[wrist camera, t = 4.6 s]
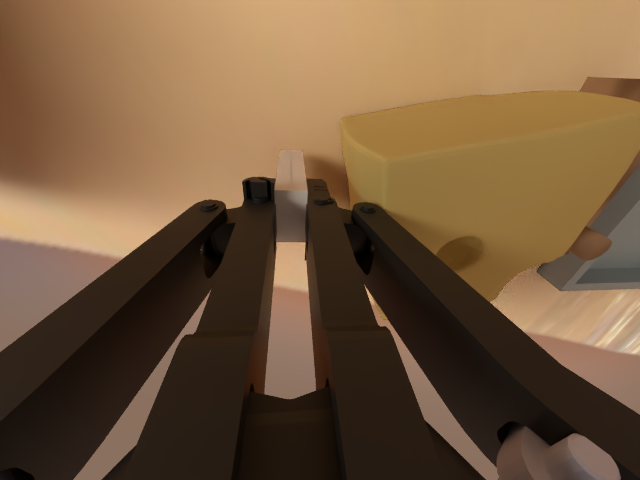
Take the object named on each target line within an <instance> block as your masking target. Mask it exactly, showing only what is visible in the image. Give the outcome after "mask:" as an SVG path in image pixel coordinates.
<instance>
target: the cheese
mask: <svg viewBox="0 0 640 480" xmlns="http://www.w3.org/2000/svg"><path fill="white" fill-rule="evenodd" d="M341 144H342V153H343V159H344V163H345V167H346V172H347V179H348V187H349V197H350V210H352V209H353V205H354V204H356V203H360V202H368V203H369V202H370V203H373V204H375V205H377V206H379V207H381V208H382V209H383V210H384V211H385V212H386V213H387V214H389V215H390V216H391V217H392V218H393V219H394V220H396V221H397V222H398V223H399V224H400V225H401V226H402V227H404V228H405V229H406V230H407V231H408V232H409V233H410V234H412V235H413V236H414V237H415V238H416V239H417V240H418V241H420V242H421V243H422V244H423V245H424V246H425V247H427V248H428V249H429V250H430V251H431V252H432V253H433V254H435V255H436V256H437V257H438V258H439V259H440V260H441V261H443V262H444V263H445V264H446V265H447V266H448V267H450V268H451V269H452V270H453V271H454V272H455V273H456V274H458V275H459V276H460V277H461V278H462V279H463V280H464V281H466V282H467V283H468V284H469V285H470V286H471V287H472V288H474V289H475V290H476V291H477V292H478V293H479V294H481V295H482V296H483V297H484V298H485V299H486V300H487V301H489V302H490V301H492V300H493V299H495V298H497V296H498V294H499V292H500V291H501V290H502V289H503V287H504V286H505V285H506V284H507V283H508V282H509V281H510V280H511V279H512V278H513V277H514V276H516V275H517V274H518V273H520V272H522V271H523V270H525V269H527V268H529V267H532V266H535V265H539V264H543V263H549V262H551V261H554V260H555V259H557V258H559V257H561V256H563V255H564V254H565V253H566V251H567V250H568V249H569V248H570V247H571V246H572V244H573V243H574V242H575V240H576V239H577V237H578V236H579V235H580V233H581V232H582V230H583V229H584V227H585V226H586V225H587V223H588V222H589V220H590V219H591V218H592V217H593V215H594V214H595V213H596V212H597V210H598V209H599V208H600V207H601V205H602V204H603V203H604V201H605V200H606V199H607V197H608V196H609V195H610V193H611V192H612V191H613V190H614V188H615V187H616V185H617V184H618V182H619V181H620V180H621V178H622V177H623V175H624V174H625V173H626V171H627V170H628V168H629V166H630V165H631V163H632V162H633V160H634V158H635V157H636V155H637V153H638V152H639V150H640V102H637V101H633V100H629V99H625V98H619V97H613V96H608V95H602V94H595V93H587V92H577V91H534V92H524V93H513V94H503V95H475V96H469V97H462V98H454V99H447V100H440V101H433V102H427V103H421V104H415V105H410V106H405V107H399V108H394V109H389V110H384V111H379V112H373V113H367V114H361V115H354V116H348V117H343V118H342V121H341ZM372 297H373V296H372ZM373 300H374V302H375V305H376V307H377V309H378V311H379V314H380V315H381V318H382V319H383V320H388V319H387V317H386V316H385V314H384V313H383V311H382V310H381V308H380V307H379V305H378V304H377V302H376V301H375V299H374V298H373Z"/></svg>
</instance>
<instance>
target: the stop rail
mask: <svg viewBox="0 0 640 480" xmlns="http://www.w3.org/2000/svg"><path fill="white" fill-rule="evenodd" d="M580 92H587V93H595V94H602V95H608V96H613V97H619V98H625V99H629V100H633V101H637V102H640V79H624V78H593V77H588V78H587V80H586V82H585V84H584V86H583V87H582V89H581V91H580ZM639 164H640V150H639V152H638V153H637V155H636V157H635V158H634V160H633V162H632V163H631V165H630V166H629V168H628V170H627V171H626V173H625V174H624V175H623V177H622V178H621V180H620V181H619V182H618V184H617V185H616V187H615V188H614V190H613V191H612V192H611V193H610V195H609V196H608V197H607V199H606V200H605V201H604V203H603V204H602V205H601V207H600V208H599V209H598V210H597V212H596V213H595V214H594V215H593V217H592V218H591V219H590V220H589V222H588V223H587V225H586V226H585V227H584V229H583V230H582V232H581V233H580V235H579V236H578V237H577V239H576V240H575V242H574V243H573V244H572V246H571V247H570V248H569V249H568V250H567V251H566V253H565V254H568V253H569V252H571V253H573V254H574V255H576V256H577V257H579V258H580V259H582V260H584V261H589V260H593V259H595V258H598V257H599V256H601V255H603V254H604V253H605V252H606V251H607V250H608V249H609V248H610V247H611V244H612V241H611V239H609V238H607V237H605V236H603V235H601V234H600V233H598V232H596V231H594V230H592V229H590V228H589V227H590V226H591V224H592V223H593V222H594V221H595V219H596V218H597V217H598V216H599V214H600V213H601V212H602V211H603V209H604V208H605V207H606V206H607V204H608V203H609V202H610V201H611V199H612V198H613V197H614V196H615V194H616V193H617V192H618V191H619V189H620V188H621V187H622V186H623V184H624V183H625V182H626V181H627V179H628V178H629V177H630V176H631V174H632V173H633V172H634V171H635V169H636V168H637V167H638V166H639Z"/></svg>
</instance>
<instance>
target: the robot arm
mask: <svg viewBox="0 0 640 480" xmlns="http://www.w3.org/2000/svg"><path fill="white" fill-rule="evenodd" d="M242 185H243V193H244V202H243V204H242V206H241V207H238V208H232V209H226V205H225V203H223V202H222V201H218V200H204V201H201V202H198V203H196V204H194V205H193V206H192V207H190V208H189V209H188V210H186V211H185V212H184V213H182V214H181V215H180V216H178V217H177V218H176V219H174V220H173V221H172V222H171V223H169V224H168V225H167V226H165V227H164V228H163V229H161V230H160V231H159V232H157V233H156V234H155V235H153V236H152V237H151V238H150V239H148V240H147V241H146V242H144V243H143V244H142V245H140V246H139V247H138V248H136V249H135V250H134V251H132V252H131V253H130V254H129V255H127V256H126V257H125V258H123V259H122V260H121V261H119V262H118V263H117V264H115V265H114V266H113V267H111V268H110V269H109V270H108V271H106V272H105V273H104V274H102V275H101V276H100V277H98V278H97V279H96V280H94V281H93V282H92V283H90V284H89V285H88V286H87V287H85V288H84V289H83V290H81V291H80V292H79V293H77V294H76V295H75V296H73V297H72V298H71V299H69V300H68V301H67V302H66V303H64V304H63V305H62V306H60V307H59V308H58V309H56V310H55V311H54V312H52V313H51V314H50V315H49V316H47V317H46V318H45V319H43V320H42V321H41V322H39V323H38V324H37V325H35V326H34V327H33V328H31V329H30V330H29V331H28V332H26V333H25V334H24V335H22V336H21V337H20V338H18V339H17V340H16V341H14V342H13V343H12V344H11V345H9V346H8V347H6V348H5V349H4V350H3V351H1V352H0V480H73V479H74V478H75V477H76V475H77V474H78V473H79V472H80V471H81V469H82V468H83V467H84V466H85V464H86V463H87V462H88V460H89V459H90V458H91V456H92V455H93V454H94V452H95V451H96V449H98V447H99V446H100V444H101V443H102V442H103V441H104V439H105V438H106V436H107V435H108V434H109V432H110V431H111V429H112V428H113V426H114V425H115V424H116V422H117V421H118V420H119V418H120V417H121V415H122V414H123V412H124V411H125V410H126V408H127V407H128V406H129V404H130V403H131V401H132V400H133V398H134V397H135V396H136V394H137V393H138V391H139V390H140V389H141V387H142V386H143V384H144V383H145V382H146V380H147V379H148V377H149V376H150V374H151V373H152V372H153V370H154V369H155V367H156V366H157V365H158V363H159V362H160V361H161V359H162V358H163V356H164V355H165V353H166V352H167V351H168V349H169V348H170V346H171V345H172V344H173V342H174V341H175V339H176V338H177V337H178V335H179V334H180V332H181V331H182V329H183V328H184V327H185V325H186V324H187V323H188V321H189V320H190V318H191V317H192V316H193V314H194V312H195V311H196V310H197V309H198V307H199V306H200V304H201V303H202V302H203V300H204V299H205V297H206V296H207V294H208V293H209V292H210V290H211V292H210V295H209V298H208V300H207V303H206V306H205V308H204V311H203V314H202V317H201V319H200V322H199V325H198V327H197V330H196V332H195V333H194V334H191V335H190V334H189V335H185V336H184V337H183V338H182V339H181V341H180V343H179V345H178V347H177V348H176V351H175V353H174V356H173V358H172V361H171V363H170V366H169V368H168V370H167V373H166V375H165V377H164V380H163V382H162V385H161V387H160V390H159V392H158V394H157V397H156V399H155V402H154V404H153V407H152V409H151V411H150V414H149V416H148V419H147V421H146V423H145V426H144V428H143V431H142V433H141V435H140V438H139V440H138V443H137V445H136V446H135V447H134V448H133V449H132V450H131V451H130V452H129V453H128V454H127V455H126V456H125V457H124V458H123V459H122V460H121V461H120V462H119V463H118V464H117V465H116V466H115V467H114V468H113V469H112V470H111V471H110V472H109V473H108V474H107V475H106V476H105V477H104V478H103V479H102V480H486V479H485V478H484V477H483V476H481V475H480V474H479V473H478V472H477V471H476V470H475V469H474V468H473V467H472V466H471V465H470V464H469V463H468V462H467V461H466V460H465V459H464V458H463V457H462V456H461V455H460V454H459V453H458V452H457V451H456V450H455V449H454V448H453V447H452V446H451V445H450V444H449V443H448V442H447V441H446V440H445V439H444V438H443V437H442V436H441V435H440V434H439V433H438V432H437V431H436V430H435V429H434V428H432V427H431V425H429V424H428V423H427V422H426V421H425V420H424V418H423V415H422V413H421V410H420V407H419V404H418V402H417V399H416V396H415V394H414V391H413V389H412V386H411V383H410V381H409V378H408V375H407V373H406V370H405V367H404V365H403V363H402V360H401V357H400V354H399V352H398V349H397V346H396V344H395V341H394V338H393V336H392V334H391V332H390V330H389V329H388V328H387V327H385V326H384V327H380V326H379V325H378V324H377V321H376V319H375V316H374V313H373V310H372V307H371V304H370V301H369V298H368V295H367V292H366V289H365V286H366V288H367V289H368V291H369V292H370V294H371V295H372V296H373V298H374V299H375V301H376V302H377V304H378V305H379V307H380V308H381V310H382V311H383V313H384V314H385V316H386V317H387V319H388V320H389V322H390V323H391V325H392V326H393V328H394V329H395V331H396V332H397V333H398V335H399V336H400V338H401V339H402V341H403V342H404V344H405V345H406V347H407V348H408V350H409V351H410V353H411V354H412V356H413V357H414V359H415V360H416V362H417V363H418V365H419V366H420V368H421V369H422V370H423V372H424V373H425V375H426V376H427V378H428V379H429V381H430V382H431V384H432V385H433V387H434V388H435V390H436V391H437V393H438V394H439V396H440V397H441V399H442V400H443V402H444V403H445V405H446V406H447V407H448V409H449V410H450V412H451V413H452V415H453V416H454V417H455V419H456V420H457V421H458V423H459V424H460V425H461V427H462V428H463V430H464V431H465V432H466V434H467V435H468V436H469V437H470V438H471V440H472V441H473V442H474V443H475V444H476V445H477V446H478V448H479V449H480V450H481V451H482V452H483V454H484V455H485V456H486V457H487V458H488V459H489V460H490V461H491V462H492V463H493V464H494V465H495V466H496V467H497V472H498V475H499V478H498V480H640V415H639V414H638V413H636V412H635V411H633V410H632V409H630V408H628V407H627V406H625V405H624V404H622V403H621V402H619V401H617V400H616V399H614V398H613V397H611V396H609V395H608V394H606V393H605V392H603V391H602V390H600V389H599V388H597V387H595V386H594V385H592V384H590V383H589V382H587V381H586V380H584V379H583V378H581V377H579V376H578V375H577V374H575V373H573V372H572V371H570V370H569V369H567V368H565V367H564V366H562V365H561V364H560V363H558V361H556V360H555V359H554V358H553V357H552V356H551V355H549V354H548V353H547V352H546V351H545V350H544V349H542V348H541V347H540V346H539V345H538V344H537V343H536V342H535V341H533V340H532V339H531V338H530V337H529V336H528V335H526V334H525V333H524V332H523V331H522V330H521V329H520V328H518V327H517V326H516V325H515V324H514V323H513V322H512V321H510V320H509V319H508V318H507V317H506V316H505V315H504V314H502V313H501V312H500V311H499V310H498V309H497V308H495V307H494V306H493V305H492V304H491V303H490V302H489V301H487V300H486V299H485V298H484V297H483V296H482V295H481V294H479V293H478V292H477V291H476V290H475V289H474V288H472V287H471V286H470V285H469V284H468V283H467V282H466V281H464V280H463V279H462V278H461V277H460V276H459V275H458V274H456V273H455V272H454V271H453V270H452V269H451V268H450V267H448V266H447V265H446V264H445V263H444V262H443V261H441V260H440V259H439V258H438V257H437V256H436V255H435V254H433V253H432V252H431V251H430V250H429V249H428V248H427V247H425V246H424V245H423V244H422V243H421V242H420V241H418V240H417V239H416V238H415V237H414V236H413V235H412V234H410V233H409V232H408V231H407V230H406V229H405V228H404V227H402V226H401V225H400V224H399V223H398V222H397V221H396V220H394V219H393V218H392V217H391V216H390V215H389V214H387V213H386V212H385V211H384V210H383V209H382V208H381V207H379V206H377V205H375V204H373V203H370V202H369V203H368V202H360V203H356V204H354V205H353V209H352V210H346V209H342V208H339V207H338V206H337V203H336V201H335V199H333V198H331V197H330V194H329V191H328V188H327V184H326V182H324V181H323V180H322V179H306V174H305V167H304V159H303V152H302V151H301V150H280V154H279V161H278V168H277V175H276V179H273V178H266V177H251V178H247V179H245V180H244V181H242ZM276 242H306V246H305V260H306V262H307V275H308V288H309V300H310V313H311V326H312V339H313V352H314V365H315V378H316V391H314V392H311V393H309V394H306V395H303V396H300V397H297V398H295V399H283V398H278V397H274V396H269V395H265V394H264V388H265V375H266V363H267V352H268V339H269V327H270V317H271V305H272V293H273V282H274V270H275V259H276ZM364 285H365V286H364Z"/></svg>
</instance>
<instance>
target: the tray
mask: <svg viewBox="0 0 640 480" xmlns="http://www.w3.org/2000/svg"><path fill="white" fill-rule="evenodd" d="M589 228H590V229H592V230H594V231H596V232H598V233H600V234H601V235H603V236H605V237H607V238H609V239H611V241H612V244H611V247H610V248H609V249H608V250H607V251H606V252H605V253H604V254H603V255H601V256H599V257H598V258H595V259H593V260H589V261H584V260H582V259H580V258H579V257H577V256H576V255H574V254H573V253H571V252H569V253H568V254H564V255H563V256H561V257H559V258H557V259H555V260H554V261H551V262H549V263H543V264H542V265H541V266H540V268H539V269H538V270H537V272H538V273H539V274H540V275H541V276H543V277H544V278H545V279H546V280H547V281H549V282H550V283H551V284H552V285H553V286H555V287H556V288H557V289H558V290H559V291H579V290H612V289H640V164H639V166H638V167H637V168H636V169H635V171H634V172H633V173H632V174H631V176H630V177H629V178H628V179H627V181H626V182H625V183H624V184H623V186H622V187H621V188H620V189H619V191H618V192H617V193H616V194H615V196H614V197H613V198H612V199H611V201H610V202H609V203H608V204H607V206H606V207H605V208H604V209H603V211H602V212H601V213H600V214H599V216H598V217H597V218H596V219H595V221H594V222H593V223H592V224H591V226H590V227H589Z"/></svg>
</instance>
